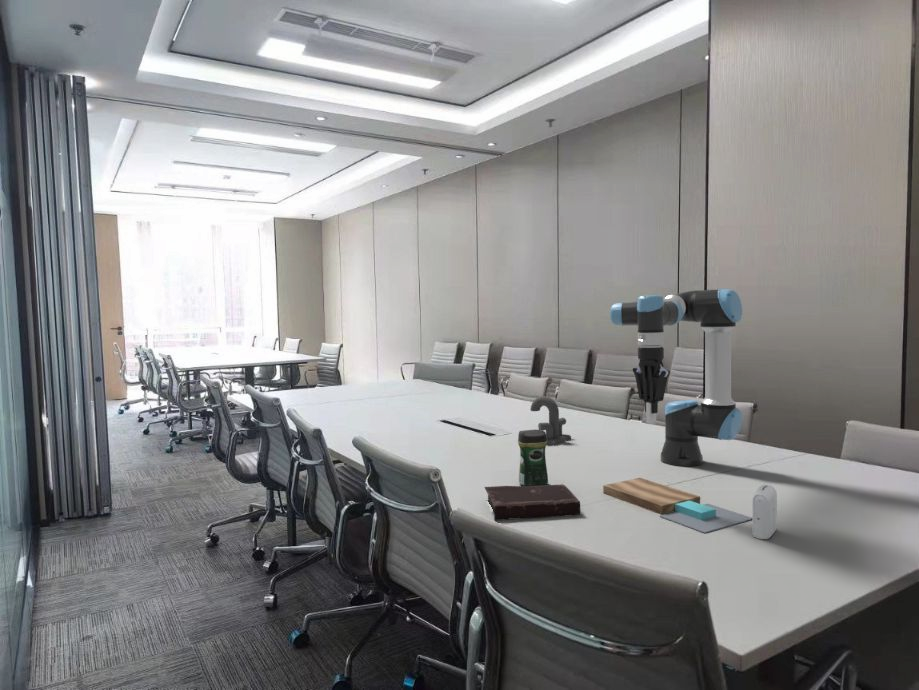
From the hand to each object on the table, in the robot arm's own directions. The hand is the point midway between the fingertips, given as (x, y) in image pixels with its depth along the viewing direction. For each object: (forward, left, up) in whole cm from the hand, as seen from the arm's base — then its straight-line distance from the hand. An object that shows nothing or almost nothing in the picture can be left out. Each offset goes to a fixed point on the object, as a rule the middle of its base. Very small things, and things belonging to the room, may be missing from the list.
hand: (651, 423), depth 184 cm
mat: (0, +20, -24) cm, 31 cm away
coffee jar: (+21, -32, -24) cm, 45 cm away
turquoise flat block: (+1, +17, -23) cm, 29 cm away
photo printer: (-3, +36, -24) cm, 43 cm away
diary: (+36, -13, -24) cm, 45 cm away
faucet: (-25, -85, -24) cm, 92 cm away
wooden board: (0, 0, -24) cm, 23 cm away
